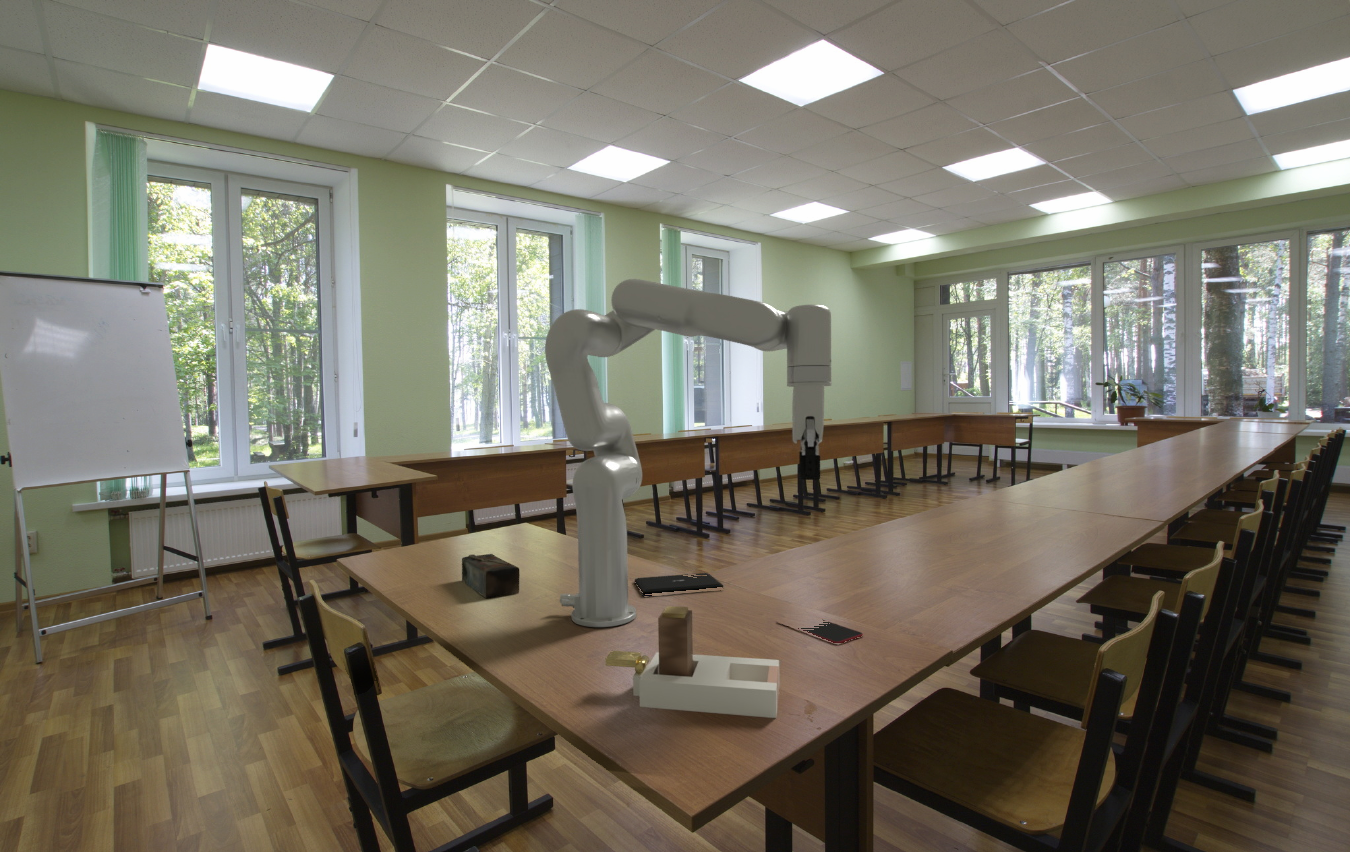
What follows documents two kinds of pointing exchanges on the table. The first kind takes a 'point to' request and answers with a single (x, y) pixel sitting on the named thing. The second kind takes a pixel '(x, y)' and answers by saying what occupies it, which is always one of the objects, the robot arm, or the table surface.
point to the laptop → (676, 583)
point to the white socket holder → (713, 686)
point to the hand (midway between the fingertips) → (809, 476)
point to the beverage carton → (490, 575)
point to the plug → (675, 642)
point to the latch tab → (627, 660)
